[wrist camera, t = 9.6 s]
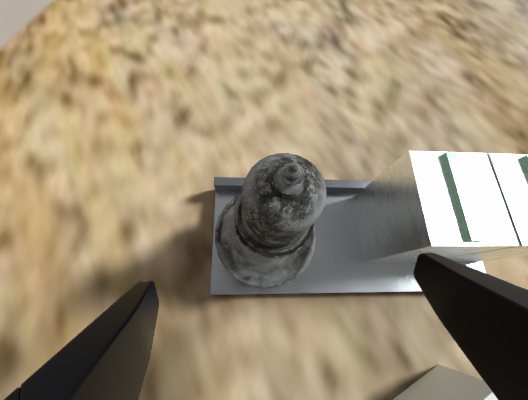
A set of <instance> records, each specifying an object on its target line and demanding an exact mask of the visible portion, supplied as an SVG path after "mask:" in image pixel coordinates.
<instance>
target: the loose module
mask: <svg viewBox="0 0 528 400" xmlns="http://www.w3.org/2000/svg"><path fill="white" fill-rule="evenodd" d="M393 400H498V399H497V398H496V396H495V395H494V394H493V392H492V391H491V389H490V388H489V387H488V385H487V384H486V383H485V381H483V380H480V379H477V378H475V377H472V376H469V375H466V374H464V373H461V372H458V371H456V370H453V369H450V368H447V367H445V366H442V365H439V364H438V365H437V366H436V367H434V368H433V369H432V370H430V371H429V372H428V373H426V374H425V375H424V376H423V377H421V378H420V379H419V380H417V381H416V382H415V383H413V384H412V385H411V386H410V387H408V388H407V389H406V390H404V391H403V392H402V393H400V394H399V395H398V396H397V397H395V398H394V399H393Z"/></svg>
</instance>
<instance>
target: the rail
mask: <svg viewBox="0 0 528 400" xmlns="http://www.w3.org/2000/svg"><path fill="white" fill-rule="evenodd" d="M244 180H245V178H223V177H214V187H215V191H216V193H215V212H214V230H213V249H212V268H211V287H210V295H233V294H291V293H348V292H406V291H422V290H421V288H420V287H419V285H418V283H417V282H416V280H415V278H414V274H413V271H414V268H415V264H416V261H417V257H418V255H419V254H421V253H428V252H432V253H435V254H438V255H440V256H443V257H445V258H448V259H451V260H453V261H456V262H458V263H461V264H463V265H466V266H468V267H471V268H473V269H476V270H479V271H481V272H484V273H486V272H485V269H484V265H483V262H482V261H488V260H496V259H504V258H512V257H520V256H527V255H528V155H526V154H496V153H489V154H487V155H486V153H466V152H436V151H408V152H407V153H405V154H404V155H403V156H402V157H401V158H399V159H398V160H397V161H396V162H395V163H394V164H392V165H391V166H390V167H389V168H388V169H386V170H385V171H384V172H383V173H382V174H380V175H379V176H378V177H377V178H376V179H375V180H373V181H359V180H324V182H325V185H326V193H327V194H326V201H325V206H324V208H323V211H322V213H321V215H320V217H319V218H318V219H317V220H316V221H315V223H314V227H315V235H316V243H315V251H314V254H313V256H312V259H311V261H310V263H309V265H308V266H307V268H306V269H305V270H304V271H303V273H302V274H301V275H300V276H298V277H297V278H296V279H294V280H293V281H291V282H290V283H287V284H285V285H282V286H279V287H275V288H259V287H254V286H250V285H247V284H245V283H243V282H241V281H240V280H238V279H236V278H235V277H234V276H233V275H232V274H231V273H230V272H229V271H228V270H227V269H225V267H224V265H223V263H222V262H221V260H220V258H219V257H218V253H217V249H216V245H215V228H216V225H217V221H218V218H219V216H220V214H221V212H222V211H223V209H224V207H225V206H226V205H227V204H228V203H229V202H230V201H231V200H232V199H233V198H234V197H236V196H238V195H239V194H241V193H242V187H243V184H244Z"/></svg>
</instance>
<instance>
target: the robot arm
mask: <svg viewBox="0 0 528 400" xmlns="http://www.w3.org/2000/svg"><path fill="white" fill-rule="evenodd" d="M413 274H414V278H415V280H416V282H417V283H418V285H419V287H420V288H421V290H422V291H423V293H424V295H425V296H426V298H427V300H428V301H429V303H430V305H431V306H432V308H433V310H434V311H435V313H436V315H437V316H438V318H439V319H440V321H441V322H442V324H443V325H444V326H445V328H446V329H447V330H448V332H449V333H450V335H451V336H452V337H453V339H454V340H455V341H456V343H457V344H458V346H459V347H460V348H461V350H462V351H463V352H464V354H465V355H466V357H467V358H468V359H469V361H470V362H471V363H472V365H473V366H474V367H475V369H476V370H477V372H478V373H479V374H480V376H481V377H482V378H483V380H484V381H485V383H486V384H487V385H488V387H489V388H490V389H491V391H492V392H493V394H494V395H495V396H496V398H497V399H498V400H528V290H527V289H524V288H522V287H519V286H517V285H514V284H512V283H509V282H506V281H504V280H501V279H499V278H496V277H494V276H491V275H489V274H486V273H484V272H481V271H479V270H476V269H473V268H471V267H468V266H466V265H463V264H461V263H458V262H456V261H453V260H451V259H448V258H445V257H443V256H440V255H438V254H435V253H432V252H428V253H421V254H419V255H418V257H417V261H416V264H415V268H414V271H413ZM158 307H159V300H158V296H157V292H156V287H155V284H154V282H153V281H152V280H146V281H139V282H138V283H136V284H135V285H134V286H133V287H132V288H131V289H129V290H128V291H127V292H126V293H125V294H124V295H123V296H121V297H120V298H119V299H118V300H117V301H116V302H115V303H113V304H112V305H111V306H110V307H109V308H108V309H107V310H105V311H104V312H103V313H102V314H101V315H100V316H99V317H98V318H96V319H95V320H94V321H93V322H92V323H91V324H90V325H88V326H87V327H86V328H85V329H84V330H83V331H82V332H80V333H79V334H78V335H77V336H76V337H75V338H74V339H72V340H71V341H70V342H69V343H68V344H67V345H66V346H65V347H63V348H62V349H61V350H60V351H59V352H58V353H57V354H55V355H54V356H53V357H52V358H51V359H50V360H49V361H47V362H46V363H45V364H44V365H43V366H42V367H41V368H39V369H38V370H37V371H36V372H35V373H34V374H33V375H32V376H30V377H29V378H28V379H27V380H26V381H25V382H24V383H22V385H21V388H17V389H15V390H14V391H13V392H12V393H11V394H10V395H9V396H7V397H6V398H5V399H4V400H138V399H139V395H140V392H141V388H142V385H143V381H144V377H145V374H146V370H147V367H148V363H149V359H150V354H151V349H152V343H153V337H154V331H155V325H156V319H157V313H158Z"/></svg>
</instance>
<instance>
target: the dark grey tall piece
mask: <svg viewBox="0 0 528 400" xmlns="http://www.w3.org/2000/svg"><path fill="white" fill-rule="evenodd" d="M326 194H327V193H326V185H325V182H324V179H323V177H322V175H321V173H320V172H319V170H318V169H317V168H316V167H315V166H314V165H313V164H312V163H311V162H309V161H308V160H306V159H304V158H302V157H300V156H298V155H293V154H289V153H281V154H274V155H270V156H267V157H265V158H264V159H262V160H260V161H259V162H257V163H256V164H255V165H254V166H253V167H252V168H251V170H250V171H249V173H248V175H247V176H246V178H245V180H244V184H243V187H242V193H241V194H239V195H238V196H236V197H234V198H233V199H232V200H231V201H230V202H229V203H228V204H227V205H226V206H225V207H224V209H223V211H222V212H221V214H220V216H219V218H218V221H217V225H216V228H215V245H216V249H217V253H218V257H219V258H220V260H221V262H222V263H223V265H224V267H225V269H227V270H228V271H229V272H230V273H231V274H232V275H233V276H234V277H235V278H236V279H238V280H240V281H241V282H243V283H245V284H247V285H250V286H254V287H259V288H275V287H279V286H282V285H285V284H287V283H290V282H291V281H293V280H294V279H296V278H297V277H298V276H300V275H301V274H302V273H303V271H304V270H305V269H306V268H307V266H308V265H309V263H310V261H311V259H312V256H313V254H314V251H315V243H316V235H315V227H314V223H315V221H316V220H317V219H318V218H319V217H320V215H321V213H322V211H323V208H324V206H325V201H326Z"/></svg>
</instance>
